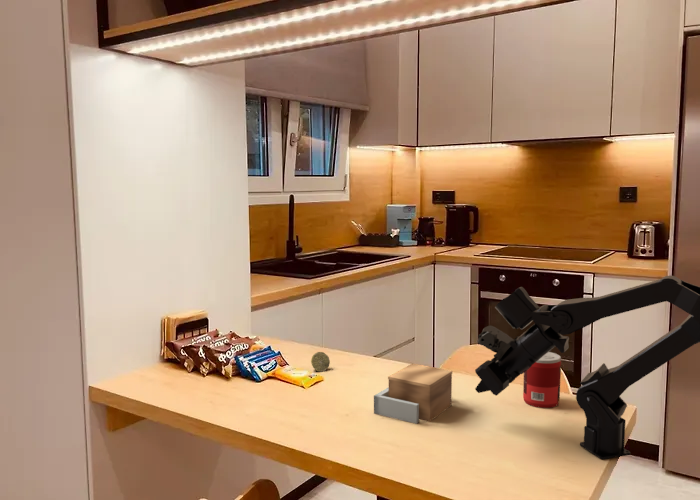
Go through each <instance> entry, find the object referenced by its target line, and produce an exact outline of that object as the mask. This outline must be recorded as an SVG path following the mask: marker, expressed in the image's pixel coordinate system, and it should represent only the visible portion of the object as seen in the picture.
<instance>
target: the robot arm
mask: <svg viewBox="0 0 700 500" xmlns="http://www.w3.org/2000/svg"><path fill="white" fill-rule="evenodd" d="M664 302H668V303H670V304H672V305H674V306H675V307H677V308H678V309H681V311H684V312H685V313H687V314H688V316H687V317H686V318H685V319H684V320H683V321H682V322H681V323H680V324H679V325H677V326H676V327H674V328H673V329H671V330H669V331H668V332H667V333H665V334H664V335H662V336H661V337H659V338H658V339H656V340H655V341H653V342H652V343H651V344H649V345H647V346H646V347H644V348H642V349H641V350H640V351H638V352H637V353H635V354H634V355H632V356H631V357H629V358H628V359H626V360H625V361H623V362H622V363H621V364H619V365H616V366H615V367H611V368H608V366H607V365H606V363H601V365H600V366H599V367H598V368H597V369H596V370H594V371H591V372H588V373H587V374H586V375H585V376H584V378H583V379H582V380H581V381H580V382H579V384H580V387H579V388H577V391H576V393H575V399H576V400H575V401H576V403H577V405H578V406H579V408H580V409H582V411H583V412H584V416H585V418H586V422H585V423H586V424H585V425H584V429H583V430H584V431H583V441H579V446H580V447H582V448H583V449H585V450H586V451H588V452H590V453H591V454H592V455H594V456H595V457H596V458H599V459H600V460H606V459H613V458H619V457H624V456H625V457H626V456H630V455H631V451H630V450H627V449H626V448H625V437H626V419H625V418H623V417H622V416H623V415H624V413H625V412H626V409H627V408H628V404H627V403H626V402H625V400H624V399H623V398H622V397H621V396H622V394H623V393H625V391H626V390H627V389H628V388H629V387H630V386H632V385H633V384H635V383H636V382H639V381H640V380H642V379H643V378H644V377H646V376H648V375H649V374H651V373H652V372H654V371H655V370H657V369H659V368H660V367H661V366H663V365H665V364H666V363H669V361H671V360H672V359H674V358H676V357H677V356H678V355H680V354H682V353H684V352H685V351H687V350H688V349H690V348H691V347H693V346H694V345H696V344H698V343H699V344H700V285H696V284H693V283H691V282H687V281H685V280H683V279H680V278H679V277H677V276H675V275H665V276H663V277H661V278H660V279H656V280H653V281H649V282H647V283H643V284H639V285H636V286H632V287H628V288H625V289H622V290H618V291H616V292H611V293H608V294H605V295H602V296H595V297H579V298H572V299H571V298H570V299H565V300H562V301H561V302H559V303H558V304H544V305H542V306H540V305H538V303H536V301H535V300H533V298H532V297H531V296H530V295H529V293H528V292H527V290H526V289H525V288H524V287H523V286H520V287H518V288H516V289H515V291H512V292H511V293H510V294H509V295H507V296H506V297H504V298H503V299H501V300H500V301H499V302H498V303H497V304H496V305H495V306H494V309H496V311H498V313H499V314H500V315H501V316H502V317H503V319H504V320H505V321H506V322H507V323H508V324H509V325H510V327H511V328H512V329H513V330H514V329H516V330H518V329H520V330H523V329H525V328H526V327H528V326H529V325H530V324H531V323H532V322H533V323H534V324H532V325H531V326H530V327H528V328H527V329H526V331H525V330H524V332H523V333H522V334H520V335H518V336H516V337H515V338H512V337H511V336H509V334H507V333H506V332H504V331H502V330H500V329H499V328H497V327H495V326H493V325H489V324H488V326H485V327H484V328H483V329H482V331H481V333H479V334H478V336H477V337H478V338H477V343H478V344H479V345H480V346H483V347H485V348H486V349H488V350H490V351H491V352H493V353H495V354H493V358H491V360H489V359H487V360H486V361H484V362H483V363H481V364H480V365H479V366H478V367H476V369H475V370H474V371H475V374H476V375H477V377H479V379H480V381H479V383H478V384H477V386H476V387H475V388H474V389H475V391H476V392H477V393H478V394H480V393H485V392H491V394H493V395H494V396H495V397H496V396H498V395H499V394H501V393H502V392H503V391H505V390H506V389H507V388H508V387H509V386H510V384H511V383H513V382H514V381H515V380H516V379H517V378H518V377H519V376H521V375H524V372H525V371H527V370H528V369H529V368H530V367H531V366H532V365H533V364H534V363H535V362H536V361H538V360H539V359H540V358H541V357H543V356H544V355H545V354H546V353H548V352H551V351H552V350H553V349H554V348H556V349H557V350H559V352H560V353H562V354H564V353H565V352H566V351H567V350H568V349H569V348H570V347H569V346H570V345H569V340H570V337H569V336H567V335H570V334H573V333H575V332H578V331H580V330H581V329H584V328H585V327H587V326H589V325H591V324H593V323H595V322H597V321H600V320H601V319H604V318H608V317H612V316H616V315H619V314H623V313H627V312H631V311H635V310H639V309H642V308H645V307H650V306H653V305H654V306H655V305H657V304H661V303H664Z"/></svg>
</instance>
